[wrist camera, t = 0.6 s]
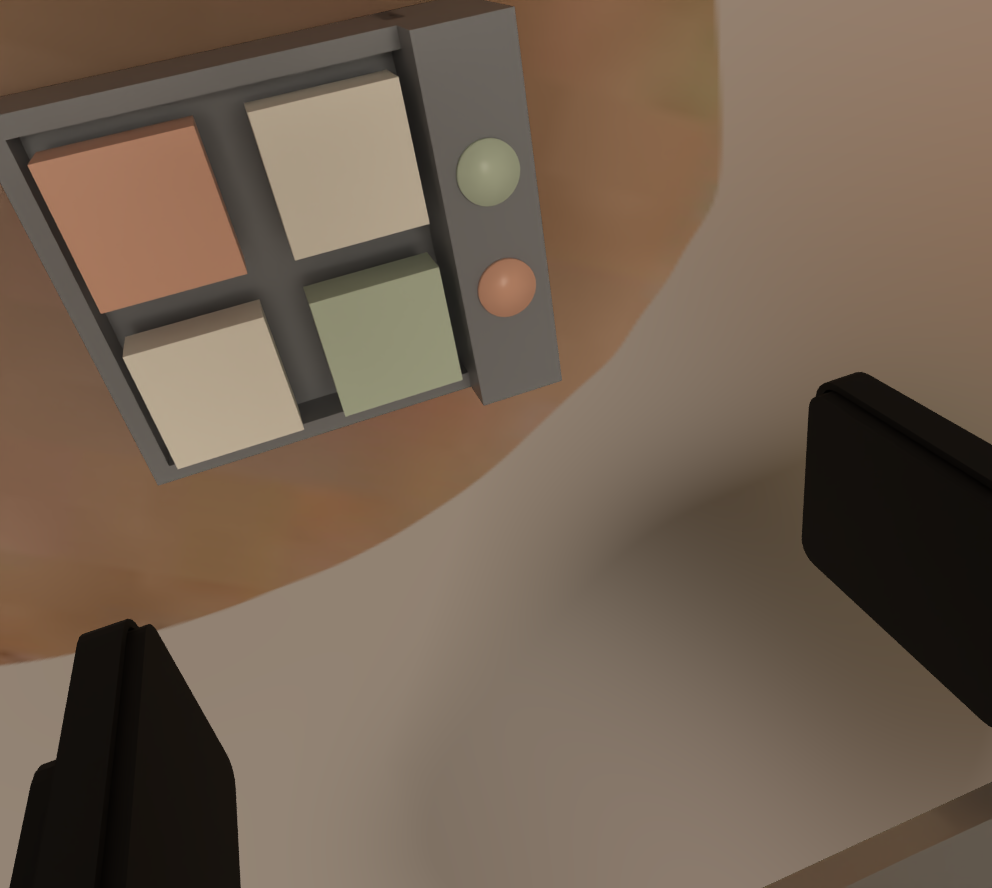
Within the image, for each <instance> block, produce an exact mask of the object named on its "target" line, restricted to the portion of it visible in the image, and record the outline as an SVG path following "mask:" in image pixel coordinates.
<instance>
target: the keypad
mask: <svg viewBox="0 0 992 888" xmlns="http://www.w3.org/2000/svg"><path fill="white" fill-rule="evenodd" d="M383 70H388V71H390V72H392V73H393V74H395V75H396V76H398V77H399V81H400V86H401V91H402V96H403V100H404V105H405V110H406V114H407V119H408V124H409V129H410V133H411V138H412V143H413V147H414V152H415V157H416V162H417V166H418V171H419V176H420V180H421V185H422V190H423V195H424V199H425V204H426V209H427V213H428V218H429V223H430V224H427V225H423V226H420V227H416V228H412V229H409V230H405V231H401V232H398V233H394V234H390V235H387V236H383V237H380V238H376V239H372V240H369V241H365V242H361V243H358V244H354V245H350V246H347V247H343V248H339V249H336V250H332V251H329V252H325V253H321V254H318V255H314V256H310V257H307V258H303V259H299V260H296V261H295V259H294V256H293V253H292V251H291V248H290V245H289V242H288V239H287V236H286V233H285V230H284V227H283V224H282V221H281V217H280V214H279V211H278V208H277V205H276V202H275V199H274V196H273V193H272V190H271V187H270V183H269V180H268V177H267V174H266V171H265V168H264V165H263V162H262V159H261V156H260V153H259V149H258V146H257V143H256V140H255V137H254V134H253V131H252V128H251V125H250V122H249V119H248V115H247V112H246V109H245V106H244V103H247V102H251V101H255V100H260V99H264V98H268V97H272V96H277V95H281V94H285V93H289V92H294V91H298V90H302V89H306V88H311V87H315V86H319V85H323V84H328V83H332V82H336V81H340V80H345V79H349V78H353V77H357V76H362V75H366V74H370V73H374V72H379V71H383ZM192 115H193V118H194V120H195V123H196V126H197V129H198V131H199V134H200V137H201V140H202V142H203V145H204V148H205V151H206V153H207V156H208V159H209V162H210V164H211V167H212V170H213V173H214V176H215V178H216V181H217V184H218V187H219V189H220V192H221V195H222V198H223V200H224V203H225V206H226V209H227V211H228V214H229V217H230V220H231V223H232V225H233V228H234V231H235V234H236V236H237V239H238V242H239V245H240V247H241V250H242V253H243V256H244V259H245V264H246V269H247V273H248V274H245V275H241V276H237V277H234V278H230V279H227V280H223V281H219V282H216V283H212V284H208V285H205V286H201V287H197V288H194V289H190V290H187V291H183V292H179V293H176V294H172V295H168V296H165V297H161V298H157V299H154V300H150V301H146V302H143V303H139V304H136V305H132V306H128V307H125V308H121V309H117V310H114V311H110V312H106V313H103V314H101V313H100V311H99V309H98V307H97V305H96V303H95V301H94V299H93V297H92V295H91V293H90V291H89V289H88V287H87V285H86V283H85V281H84V279H83V277H82V275H81V273H80V271H79V269H78V267H77V265H76V263H75V261H74V258H73V256H72V254H71V252H70V250H69V248H68V246H67V244H66V242H65V240H64V238H63V236H62V234H61V232H60V230H59V228H58V226H57V224H56V222H55V220H54V218H53V216H52V214H51V212H50V210H49V208H48V206H47V204H46V202H45V200H44V198H43V196H42V194H41V192H40V190H39V188H38V186H37V184H36V182H35V180H34V178H33V176H32V174H31V172H30V170H29V168H28V166H27V165H28V163H29V162H30V160H31V159H32V157H33V156H34V154H35V152H39V151H43V150H47V149H52V148H56V147H60V146H64V145H69V144H73V143H77V142H81V141H86V140H90V139H94V138H98V137H103V136H107V135H111V134H115V133H120V132H124V131H128V130H132V129H137V128H141V127H145V126H149V125H153V124H158V123H162V122H166V121H170V120H175V119H179V118H183V117H187V116H192ZM0 183H1V185H2V187H3V189H4V191H5V193H6V194H7V196H8V198H9V200H10V202H11V204H12V206H13V208H14V210H15V212H16V214H17V216H18V218H19V219H20V221H21V223H22V225H23V227H24V229H25V231H26V233H27V235H28V237H29V239H30V241H31V242H32V244H33V246H34V248H35V250H36V252H37V254H38V256H39V258H40V260H41V262H42V264H43V265H44V267H45V269H46V271H47V273H48V275H49V277H50V279H51V281H52V283H53V285H54V287H55V289H56V290H57V292H58V294H59V296H60V298H61V300H62V302H63V304H64V306H65V308H66V310H67V312H68V313H69V315H70V317H71V319H72V321H73V323H74V325H75V327H76V329H77V331H78V333H79V335H80V337H81V338H82V340H83V342H84V344H85V346H86V348H87V350H88V352H89V354H90V356H91V358H92V360H93V361H94V363H95V365H96V367H97V369H98V371H99V373H100V375H101V377H102V379H103V381H104V383H105V384H106V386H107V388H108V390H109V392H110V394H111V396H112V398H113V400H114V402H115V404H116V406H117V408H118V409H119V411H120V413H121V415H122V417H123V419H124V421H125V423H126V425H127V427H128V429H129V431H130V432H131V434H132V436H133V438H134V440H135V442H136V444H137V446H138V448H139V450H140V452H141V454H142V455H143V457H144V459H145V461H146V463H147V465H148V467H149V469H150V471H151V473H152V475H153V477H154V479H155V480H156V482H157V484H158V485H161V484H164V483H168V482H171V481H174V480H177V479H180V478H183V477H187V476H190V475H193V474H196V473H199V472H202V471H206V470H209V469H212V468H215V467H218V466H221V465H224V464H228V463H231V462H234V461H237V460H240V459H243V458H247V457H250V456H253V455H256V454H259V453H262V452H266V451H269V450H272V449H275V448H278V447H281V446H285V445H288V444H291V443H294V442H297V441H300V440H303V439H307V438H310V437H313V436H316V435H319V434H322V433H326V432H329V431H332V430H335V429H338V428H341V427H345V426H348V425H351V424H354V423H357V422H360V421H364V420H367V419H370V418H373V417H376V416H379V415H382V414H386V413H389V412H392V411H395V410H398V409H401V408H405V407H408V406H411V405H414V404H417V403H420V402H424V401H427V400H430V399H433V398H436V397H439V396H443V395H446V394H449V393H452V392H455V391H458V390H461V389H465V388H468V387H472V388H473V390H474V392H475V393H476V395H477V396H478V398H479V399H480V401H481V402H482V404H483V405H488V404H491V403H494V402H497V401H500V400H503V399H506V398H509V397H512V396H515V395H519V394H522V393H525V392H528V391H531V390H534V389H537V388H540V387H543V386H547V385H550V384H553V383H556V382H559V381H562V377H561V369H560V361H559V353H558V345H557V338H556V330H555V322H554V314H553V306H552V298H551V290H550V283H549V275H548V267H547V259H546V251H545V243H544V235H543V227H542V220H541V212H540V204H539V196H538V188H537V180H536V172H535V164H534V157H533V149H532V141H531V133H530V125H529V117H528V109H527V102H526V94H525V86H524V78H523V70H522V62H521V54H520V46H519V39H518V31H517V23H516V15H515V7H514V6H509V5H505V4H500V3H495V2H490V1H485V0H435V1H431V2H426V3H422V4H417V5H412V6H408V7H403V8H399V9H394V10H390V11H385V12H381V13H376V14H372V15H367V16H363V17H358V18H354V19H349V20H345V21H340V22H336V23H331V24H327V25H322V26H318V27H313V28H309V29H304V30H300V31H295V32H291V33H286V34H282V35H277V36H273V37H268V38H264V39H259V40H255V41H250V42H246V43H241V44H237V45H232V46H228V47H223V48H219V49H214V50H209V51H205V52H200V53H196V54H191V55H187V56H182V57H178V58H173V59H169V60H164V61H160V62H155V63H151V64H146V65H142V66H137V67H133V68H128V69H124V70H119V71H115V72H110V73H106V74H101V75H97V76H92V77H88V78H83V79H79V80H74V81H70V82H65V83H61V84H56V85H52V86H47V87H43V88H38V89H34V90H29V91H25V92H20V93H16V94H11V95H7V96H2V97H0ZM425 252H427V253H428V254H429V255H430V257H431V258H432V259H433V260H434V262H435V263H436V264H437V265H438V267H439V270H440V275H441V279H442V284H443V289H444V294H445V298H446V303H447V308H448V312H449V317H450V322H451V327H452V331H453V336H454V341H455V345H456V350H457V355H458V360H459V364H460V369H461V374H462V378H463V380H461V381H458V382H454V383H451V384H448V385H445V386H442V387H438V388H435V389H432V390H429V391H426V392H422V393H419V394H416V395H413V396H410V397H407V398H403V399H400V400H397V401H394V402H391V403H387V404H384V405H381V406H378V407H375V408H372V409H368V410H365V411H362V412H359V413H356V414H352V415H349V416H345V414H344V411H343V408H342V405H341V402H340V399H339V397H338V394H337V391H336V387H335V384H334V381H333V378H332V375H331V372H330V369H329V366H328V363H327V360H326V357H325V353H324V350H323V347H322V344H321V341H320V338H319V335H318V332H317V329H316V326H315V323H314V319H313V316H312V313H311V310H310V307H309V304H308V301H307V298H306V295H305V292H304V289H303V287H304V286H308V285H311V284H315V283H319V282H322V281H326V280H329V279H333V278H336V277H340V276H343V275H347V274H351V273H354V272H358V271H361V270H365V269H368V268H372V267H375V266H379V265H383V264H386V263H390V262H393V261H397V260H400V259H404V258H407V257H411V256H415V255H418V254H422V253H425ZM258 299H259V300H260V303H261V305H262V308H263V311H264V314H265V316H266V319H267V322H268V325H269V328H270V330H271V333H272V336H273V339H274V341H275V344H276V347H277V350H278V352H279V355H280V358H281V361H282V363H283V366H284V369H285V372H286V374H287V377H288V380H289V383H290V386H291V388H292V391H293V394H294V397H295V399H296V402H297V405H298V408H299V411H300V415H301V419H302V423H303V427H304V430H302V431H298V432H295V433H292V434H289V435H286V436H282V437H279V438H276V439H273V440H270V441H267V442H263V443H260V444H257V445H254V446H251V447H247V448H244V449H241V450H238V451H235V452H232V453H228V454H225V455H222V456H219V457H216V458H212V459H209V460H206V461H203V462H200V463H197V464H193V465H190V466H187V467H184V468H181V469H177V467H176V465H175V463H174V461H173V459H172V457H171V454H170V452H169V450H168V448H167V446H166V444H165V442H164V440H163V438H162V436H161V434H160V432H159V430H158V428H157V426H156V424H155V422H154V420H153V418H152V416H151V414H150V412H149V410H148V408H147V406H146V404H145V402H144V400H143V398H142V396H141V394H140V392H139V390H138V388H137V386H136V384H135V382H134V380H133V378H132V376H131V374H130V372H129V370H128V368H127V366H126V364H125V362H124V360H123V358H122V357H123V349H124V341H125V337H126V336H130V335H134V334H137V333H141V332H144V331H148V330H151V329H155V328H158V327H162V326H166V325H169V324H173V323H176V322H180V321H183V320H187V319H190V318H194V317H198V316H201V315H205V314H208V313H212V312H215V311H219V310H222V309H226V308H230V307H233V306H237V305H240V304H244V303H247V302H251V301H254V300H258Z"/></svg>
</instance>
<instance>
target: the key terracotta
mask: <svg viewBox="0 0 992 888" xmlns="http://www.w3.org/2000/svg"><path fill="white" fill-rule="evenodd" d="M27 166H28V168H29V170H30V172H31V174H32V176H33V178H34V180H35V182H36V184H37V186H38V188H39V190H40V192H41V194H42V196H43V198H44V200H45V202H46V204H47V206H48V208H49V210H50V212H51V214H52V216H53V218H54V220H55V222H56V224H57V226H58V228H59V230H60V232H61V234H62V236H63V238H64V240H65V242H66V244H67V246H68V248H69V250H70V252H71V254H72V256H73V258H74V261H75V263H76V265H77V267H78V269H79V271H80V273H81V275H82V277H83V279H84V281H85V283H86V285H87V287H88V289H89V291H90V293H91V295H92V297H93V299H94V301H95V303H96V305H97V307H98V309H99V311H100V313H101V314H103V313H106V312H110V311H114V310H117V309H121V308H125V307H128V306H132V305H136V304H139V303H143V302H146V301H150V300H154V299H157V298H161V297H165V296H168V295H172V294H176V293H179V292H183V291H187V290H190V289H194V288H197V287H201V286H205V285H208V284H212V283H216V282H219V281H223V280H227V279H230V278H234V277H237V276H241V275H245V274H248V273H247V269H246V264H245V259H244V256H243V253H242V250H241V247H240V245H239V242H238V239H237V236H236V234H235V231H234V228H233V225H232V223H231V220H230V217H229V214H228V211H227V209H226V206H225V203H224V200H223V198H222V195H221V192H220V189H219V187H218V184H217V181H216V178H215V176H214V173H213V170H212V167H211V164H210V162H209V159H208V156H207V153H206V151H205V148H204V145H203V142H202V140H201V137H200V134H199V131H198V129H197V126H196V123H195V120H194V118H193V115H192V116H187V117H183V118H179V119H175V120H170V121H166V122H162V123H158V124H153V125H149V126H145V127H141V128H137V129H132V130H128V131H124V132H120V133H115V134H111V135H107V136H103V137H98V138H94V139H90V140H86V141H81V142H77V143H73V144H69V145H64V146H60V147H56V148H52V149H47V150H43V151H39V152H35V154H34V156H33V157H32V159H31V160H30V162H29V163H28V165H27Z"/></svg>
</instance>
